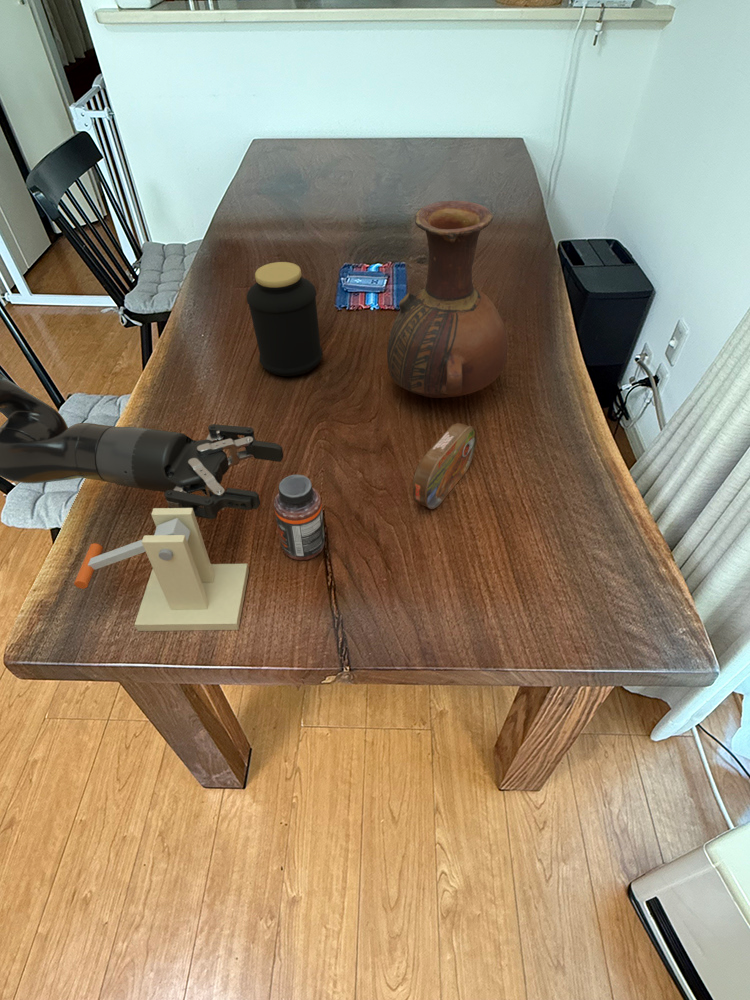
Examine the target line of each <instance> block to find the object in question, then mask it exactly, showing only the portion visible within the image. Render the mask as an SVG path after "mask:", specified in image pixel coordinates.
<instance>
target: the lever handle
mask: <svg viewBox="0 0 750 1000" xmlns="http://www.w3.org/2000/svg"><path fill="white" fill-rule="evenodd" d="M190 532H191V531H190V530H189V529H188V528H187V527H186V526H185V525H184V524H183V523H182V522H181V521H180V520H179V519H178V518H176V519H173V520H171V521H168V522H165V523H163V524H160V525H158V526H157V528H155V531H154V534H153V535H185V537H186V540H187V542H188V539H189V535H190ZM103 550H104V547H103V546H102V545H101V544H99V543H96V542H95V543H94V542H93V543H91V544H90V545H89V547H88V549H87V552H86V555H85V557H84V559H83V562H82V563H81V566H80V568H79V571H78V573H77V575H76V578H75V580H74V583H73V585H74V586H75V587H76V588H77V589H87V588H88V586H89V585H90V582H91V579H92V577H93V574H94V572H95V571H96V570H99V569H101V568H104V567H107V566H109V565H113V564H115V563H118V562H121V561H123V560H126V559H129V558H132V557H135V556H137V555H141V554H143V553H146V551H145V549H144V547H143V544H142V539H140V540H139V539H138V540H137V541H133V542H131V543H129V544H126V545H123V546H120V547H118V548H115V549H113V550H110V551H107V552H104V553H102V552H103Z"/></svg>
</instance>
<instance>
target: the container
mask: <svg viewBox="0 0 750 1000" xmlns="http://www.w3.org/2000/svg"><path fill="white" fill-rule="evenodd" d="M302 275H303V274H302V269H301V267H300V266H299V265H298V264H295V263H293V262H288V261H275V262H270V263H267V264H264V265H262V266H260V267H259V268H257V269H256V270H255V273H254V279H255V283H254V284H252V285H251V286H250V287H249V289H248V291H247V293H246V303H247V304H248V306H249V312H250V314H251V320H252V324H253V329H254V334H255V338H256V342H257V347H258V351H259V352H258V353H259V356H258V358H259V363H260V365H261V366H262V368H263V369H264V370H266V371H267V372H269V373H271V375H276V376H281V377H295V376H300V375H304V374H307V373H309V372H310V371H312V370H314V369H315V368H316V367H317V366H318V365H319V364H320V363H321V361H322V358H323V355H324V353H323V352H324V351H323V348H322V346H321V340H320V330H319V329H320V327H319V319H318V307H317V299H316V296H317V290H316V286H315V285H314V284H313V283H312V282H311V281H310V280H309V279H307V278H306V277H305V278H304V277H302Z"/></svg>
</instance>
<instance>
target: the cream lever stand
mask: <svg viewBox="0 0 750 1000" xmlns="http://www.w3.org/2000/svg"><path fill="white" fill-rule="evenodd" d="M150 515H151V518H152V520H153V523H154V525H155V527H156V528H157V526H158V525H160V524H163V523H165V522H168V521H171V520H173V519H176V518H178V519H179V520H180V521H181V522H182V523H183V524H184V525H185V526H186V527H187V528H188V529H189V530H190V531H191V532H190V535H189V539H188V542H187V540H186V537H185V535H154V534H153V535H151V534H150V535H149V534H148V535H145V534H144V535H143V537H142V539H141V540H142V544H143V547H144V549H145V551H146V552H145V553H146V556H147V558H148V560H149V563H150V565H151V567H152V569H151V572H150V575H149V579H148V581H147V584H146V587H145V591H144V595H143V597H142V600H141V603H140V606H139V609H138V612H137V616H136V618H135V622H134V627H135V629H136V631H138V632H173V631H174V632H175V631H177V632H178V631H180V632H181V631H189V632H190V631H239V629H240V624H241V618H242V612H243V608H244V607H243V606H244V600H245V596H246V589H247V585H248V579H249V573H250V568H249V565H248V563H211V560H210V558H209V555H208V551H207V548H206V545H205V542H204V539H203V536H202V535H203V534H202V532H201V529H200V526H199V524H198V520H197V517H196V516H195V514H194V511H193V508H169V507H153V508H152V511H151V513H150ZM156 528H155V529H156Z"/></svg>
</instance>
